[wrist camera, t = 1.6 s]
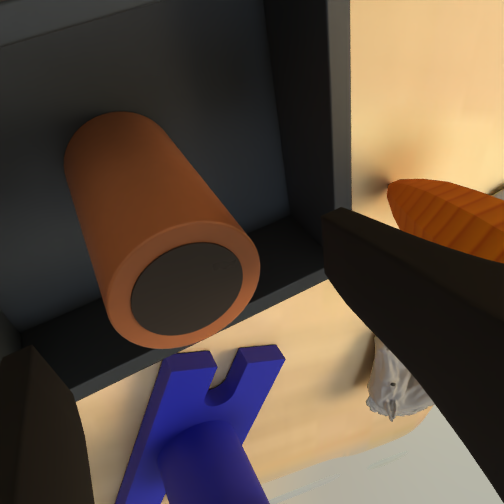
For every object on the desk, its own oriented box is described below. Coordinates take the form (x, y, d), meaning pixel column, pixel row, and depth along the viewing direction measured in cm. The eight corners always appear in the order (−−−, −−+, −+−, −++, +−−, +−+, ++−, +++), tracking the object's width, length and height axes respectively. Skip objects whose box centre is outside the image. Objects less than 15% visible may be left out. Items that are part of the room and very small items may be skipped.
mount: (208, 484, 35) (257, 609, 29) (112, 510, 31) (145, 662, 25) (276, 344, 28) (358, 469, 22) (164, 354, 24) (227, 511, 18)
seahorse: (470, 177, 25) (360, 439, 33) (626, 210, 28) (492, 446, 35) (424, 158, 30) (338, 390, 37) (562, 188, 32) (456, 400, 40)
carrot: (374, 138, 22) (745, 359, 11) (440, 146, 24) (795, 333, 14) (339, 224, 24) (616, 473, 14) (402, 224, 27) (679, 433, 16)
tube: (90, 227, 17) (139, 373, 12) (42, 134, 15) (77, 268, 9) (185, 189, 18) (271, 309, 13) (156, 95, 15) (248, 197, 10)
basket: (10, 342, 19) (15, 431, 16) (-258, 40, 11) (-361, 98, 8) (299, 214, 23) (352, 267, 19) (265, -93, 14) (350, -92, 11)
